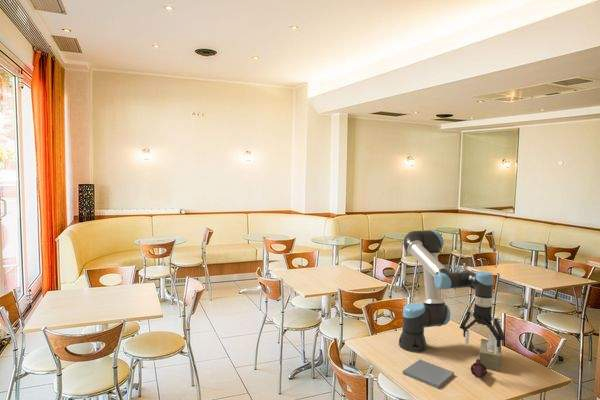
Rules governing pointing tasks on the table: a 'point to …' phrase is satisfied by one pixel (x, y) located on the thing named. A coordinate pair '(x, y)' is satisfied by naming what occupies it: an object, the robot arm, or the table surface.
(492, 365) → the tissue box
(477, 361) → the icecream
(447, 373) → the slate plate
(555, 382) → the table surface
